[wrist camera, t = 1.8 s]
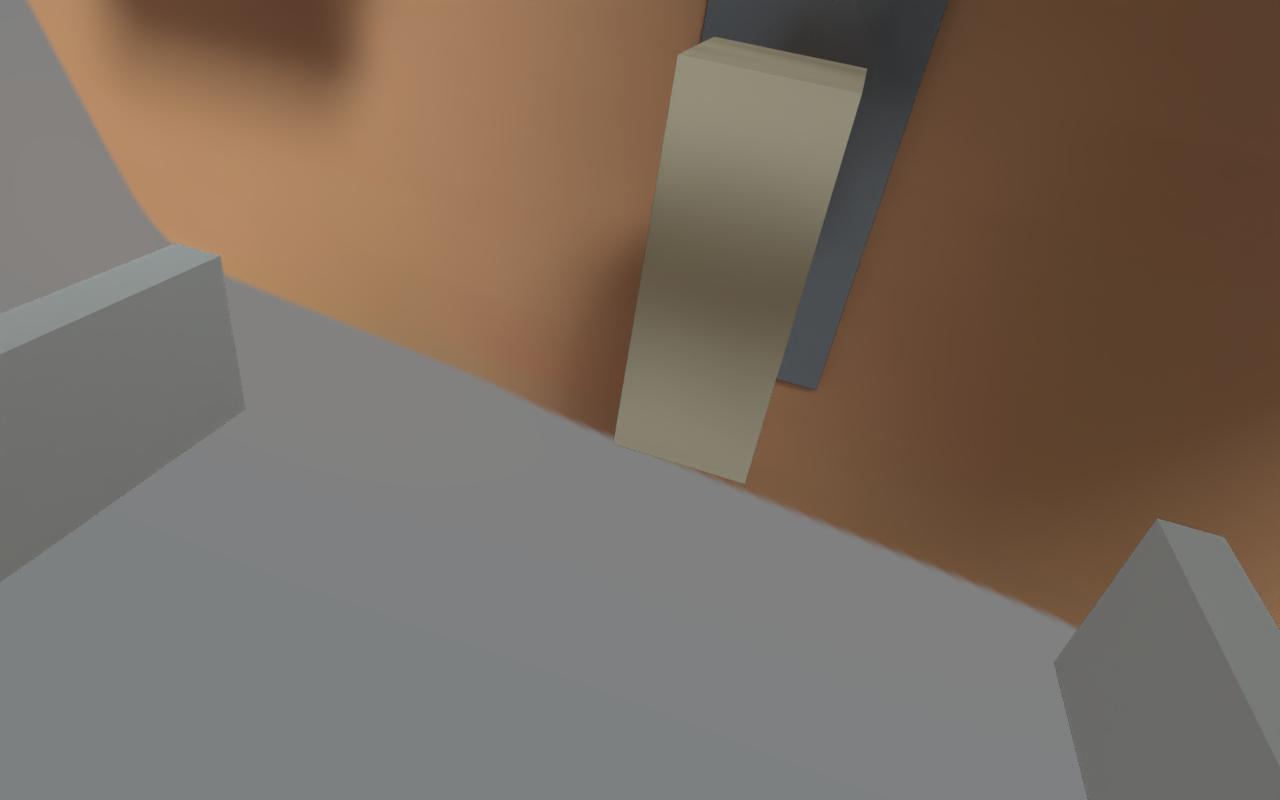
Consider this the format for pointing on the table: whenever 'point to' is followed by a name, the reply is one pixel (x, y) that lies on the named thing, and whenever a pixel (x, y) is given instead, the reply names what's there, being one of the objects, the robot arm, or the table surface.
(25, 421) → the robot arm
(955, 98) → the table surface
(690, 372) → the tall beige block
